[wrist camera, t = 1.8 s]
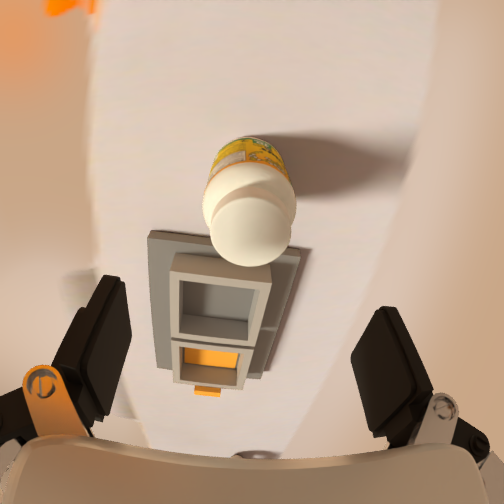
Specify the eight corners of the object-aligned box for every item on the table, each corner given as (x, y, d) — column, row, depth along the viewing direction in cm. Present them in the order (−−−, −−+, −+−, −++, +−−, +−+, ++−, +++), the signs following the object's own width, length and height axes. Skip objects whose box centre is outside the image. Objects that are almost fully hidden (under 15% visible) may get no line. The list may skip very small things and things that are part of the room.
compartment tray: (150, 230, 26) (136, 260, 22) (298, 249, 27) (306, 281, 23) (158, 360, 36) (152, 388, 33) (260, 371, 38) (261, 400, 34)
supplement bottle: (199, 157, 22) (173, 216, 14) (262, 122, 21) (273, 161, 13) (236, 212, 25) (232, 291, 17) (295, 181, 24) (321, 251, 16)
